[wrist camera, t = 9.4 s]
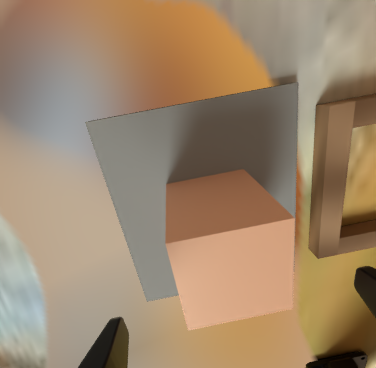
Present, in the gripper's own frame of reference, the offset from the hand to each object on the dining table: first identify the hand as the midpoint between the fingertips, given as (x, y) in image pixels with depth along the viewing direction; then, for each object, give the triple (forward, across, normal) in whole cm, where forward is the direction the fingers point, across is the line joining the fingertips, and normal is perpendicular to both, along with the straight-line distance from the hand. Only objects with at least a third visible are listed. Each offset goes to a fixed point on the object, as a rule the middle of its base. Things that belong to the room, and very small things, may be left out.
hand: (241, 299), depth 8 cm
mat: (+8, 0, 0) cm, 8 cm away
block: (+7, 0, 0) cm, 7 cm away
